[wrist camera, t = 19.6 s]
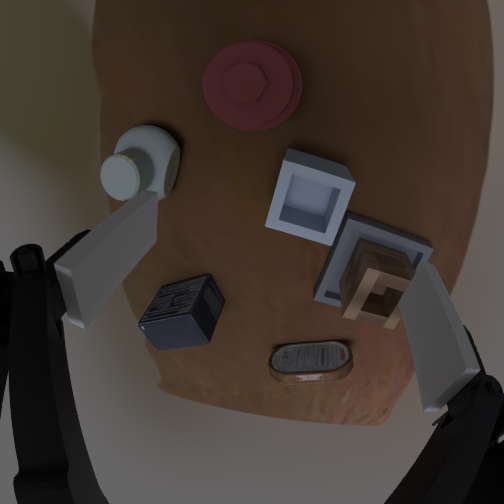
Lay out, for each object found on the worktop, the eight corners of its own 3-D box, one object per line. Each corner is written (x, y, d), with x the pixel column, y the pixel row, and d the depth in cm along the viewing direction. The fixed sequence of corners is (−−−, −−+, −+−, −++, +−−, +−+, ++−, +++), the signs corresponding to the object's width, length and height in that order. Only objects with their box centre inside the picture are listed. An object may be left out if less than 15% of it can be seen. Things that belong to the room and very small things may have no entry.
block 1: (287, 147, 37) (283, 159, 30) (346, 166, 37) (355, 182, 30) (272, 202, 41) (264, 226, 34) (327, 219, 41) (331, 246, 34)
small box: (178, 313, 55) (156, 353, 46) (160, 285, 52) (134, 323, 43) (227, 302, 51) (210, 346, 42) (210, 271, 49) (188, 313, 40)
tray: (345, 211, 40) (348, 218, 38) (428, 240, 39) (433, 248, 37) (313, 290, 47) (313, 300, 45) (389, 311, 46) (392, 320, 44)
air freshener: (137, 118, 38) (96, 128, 29) (188, 129, 38) (154, 141, 29) (127, 185, 44) (90, 209, 35) (173, 200, 44) (142, 228, 35)
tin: (273, 353, 56) (267, 387, 48) (269, 341, 54) (263, 377, 47) (351, 346, 52) (354, 382, 44) (351, 335, 50) (354, 371, 43)
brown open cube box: (359, 237, 40) (368, 267, 33) (406, 253, 40) (421, 284, 33) (338, 282, 44) (342, 316, 38) (383, 295, 44) (393, 329, 37)
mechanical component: (274, 139, 37) (210, 99, 35) (318, 78, 32) (250, 38, 30) (260, 157, 26) (171, 103, 25) (324, 68, 21) (226, 14, 20)
